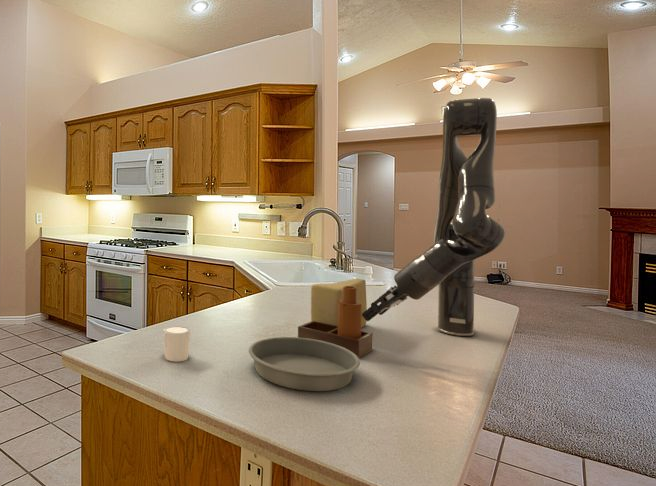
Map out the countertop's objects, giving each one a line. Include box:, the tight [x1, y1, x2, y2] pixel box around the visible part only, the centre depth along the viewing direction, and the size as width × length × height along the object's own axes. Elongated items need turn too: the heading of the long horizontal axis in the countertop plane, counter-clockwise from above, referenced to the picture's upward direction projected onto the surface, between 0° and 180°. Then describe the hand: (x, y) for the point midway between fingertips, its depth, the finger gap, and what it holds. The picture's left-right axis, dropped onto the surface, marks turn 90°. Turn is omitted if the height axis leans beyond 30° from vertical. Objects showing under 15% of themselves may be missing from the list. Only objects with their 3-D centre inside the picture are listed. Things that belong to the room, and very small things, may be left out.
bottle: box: [338, 286, 362, 339], centre depth 119 cm, size 6×6×16 cm
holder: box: [297, 321, 373, 359], centre depth 122 cm, size 9×17×5 cm, turn 46°
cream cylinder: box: [162, 325, 191, 363], centre depth 112 cm, size 7×7×7 cm
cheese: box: [310, 278, 368, 328], centre depth 137 cm, size 22×10×15 cm, turn 128°
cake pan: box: [248, 336, 361, 392], centre depth 103 cm, size 25×25×4 cm
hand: (371, 314), depth 115 cm, fingers open, 8 cm apart
